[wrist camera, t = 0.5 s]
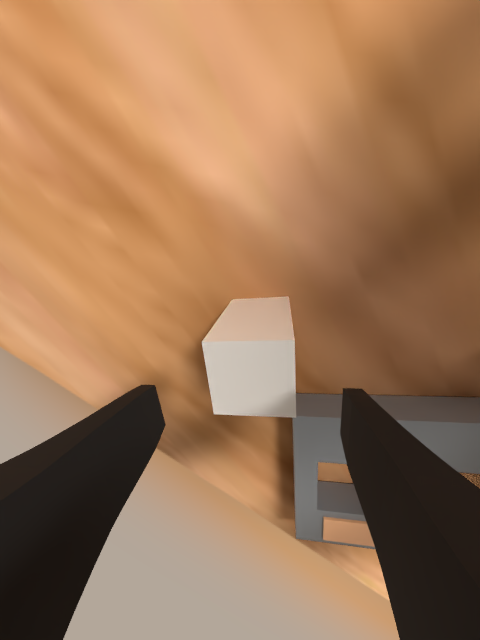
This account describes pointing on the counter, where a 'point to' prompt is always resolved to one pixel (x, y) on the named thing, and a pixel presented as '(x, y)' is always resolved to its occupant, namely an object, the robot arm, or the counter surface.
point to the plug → (252, 359)
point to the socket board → (326, 446)
